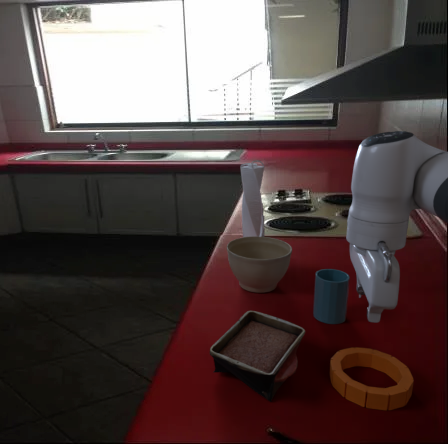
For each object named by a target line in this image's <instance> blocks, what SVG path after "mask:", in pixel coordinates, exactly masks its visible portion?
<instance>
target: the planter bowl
mask: <svg viewBox="0 0 448 444" xmlns="http://www.w3.org/2000/svg"><path fill="white" fill-rule="evenodd" d="M226 252H227V259H228V264H229V268H230V270H231V272H232V274H233V275H234V277H235V278H236V280H237V281H238V284H239V286H240V288H242V289H243V290H245V291H248V292H251V293H256V294H257V293H258V294H263V293H264V294H265V293H270V292H272V291H274V290H275V289H276V288H277V285H278V283H279V282H280V281H282V279H283V278H284V276H285V275H286V274H287V271H288V269H289V266H290V262H291V257H292V253H293V247H292V245H290V244H289V243H288V242H286V241H284V240H281V239H278V238H274V237H270V236H264V237H257V236H252V237H243V236H242V237H238V238H234V239H232V240H231V241H229V242H228V243H227V245H226Z"/></svg>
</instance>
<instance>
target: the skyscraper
mask: <svg viewBox="0 0 448 444" xmlns="http://www.w3.org/2000/svg"><path fill="white" fill-rule="evenodd" d="M258 163H260V164H261V165H258ZM264 172H265V165H264V163H263V161H261V160H258V159H257V160H253V161H251V162H246V163H242V164H240V175H241V182H242V183H241V184H242V191H243V192H242V201H241V228H242V237H252V236H257V237H265V215H264V210H265V208H264V203H263V201H262V199H263V198H262V193H261V188H262V184H263V178H264Z"/></svg>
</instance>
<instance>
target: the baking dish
mask: <svg viewBox="0 0 448 444" xmlns="http://www.w3.org/2000/svg"><path fill="white" fill-rule="evenodd" d="M305 334H306V330H305V328H303V327H302V326H299V325H298V324H295V323H293V322H291V321H288V320H285V319H282V318H279V317H276V316H273V315H270V314H267V313H263V312H260V311H255V310H247V311H246V312H244V314H242V315H241V316H240V318H239V319H238V320H237V321H236V322H235V323H234V324H233V325H232V326H231V327H230V328H229V329H228V330H227V331H226V332H225V333H224V334H223V335H221V336H220V337H219V339H218V340H216V341H215V342H214V343H213V344H212V345H211V346H210V347H209V355H210V356H211V357H212V359H213V363H214V370H213V372H212V373H230V374H232V375H233V376H235V378H237V379H238V380H240V381H241V382H242V383H244V384H245V385H246V386H247V387H249V388H250V389H251V390H252V391H254V392H255V393H257V394H258V395H260V396H261V397H263V398H264V399H265V400H266V401H268V402H270V403H272V402H273V401H272V400H273V398H274V396H275V395H276V393H277V391H278V390H279V389H280V387H282V386H283V384H284V383H285V381H286V380H287V379H288V378H291V376H293V375H295V374H296V372H297V368H298V367H299V365H298V356H297V351H298V348H299V346H300V344H301V342H302V340H303V338H304V336H305Z"/></svg>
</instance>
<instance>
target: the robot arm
mask: <svg viewBox="0 0 448 444" xmlns="http://www.w3.org/2000/svg"><path fill="white" fill-rule="evenodd" d="M352 169H353V170H352V177H351V183H350V190H351V194H352V202H351V204H350V207H349V210H348V216H347V222H346V227H347V228H346V238H345V239H346V241H347V242H348V243H349V256H350V261H351V263H352V266H353V268H354V270H355V273H356V274H355V275H356V292H357V294H358V296H359V295H361V296H365V297H366V299H367V302H368V307H367V308H366V318H367V321H368V322H370V323H380V321H381V316H382V313H383V312H384V310H395V309H396V307H397V306H398V303H399V302H398V301H399V291H400V280H401V279H400V277H401V269H400V264H399V261H398V259H397V258H396V256H395V255H396V251H398V250H402V249H403V248H405V246H406V244H407V243H406V242H407V237H408V236H407V235H408V229H409V221H410V216H411V215H410V214H411V212H412V211H414V210H422V211H424V212H426V213H427V214H430V215H432V216H435V217H437V218H438V219H440V220H441V221H443V222H444V223H445V224H448V151H446V150H443V149H440V148H437V147H435V146H433V145H430V144H428V143H426V142H424V141H422V140H421V139H419V138H418V137H417V136H416V135H415V134H414V133H413V132H410V131H407V130H406V131H405V130H395V131H386V132H385V131H384V132H379V133H376V134H372V135H370V136H368V137H367V138H365V139H363V140H362V142H361V143H360V144H359V146H358V149H357V152H356V154H355V159H354V164H353V168H352Z"/></svg>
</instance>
